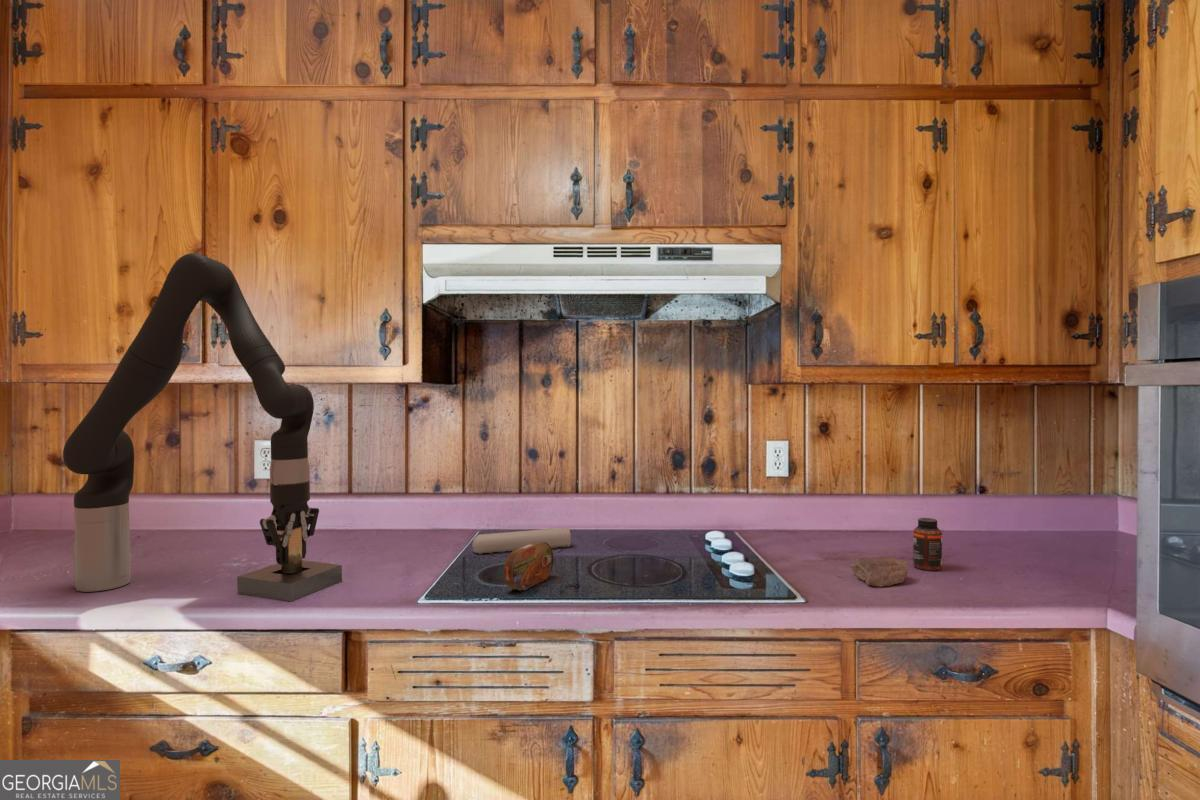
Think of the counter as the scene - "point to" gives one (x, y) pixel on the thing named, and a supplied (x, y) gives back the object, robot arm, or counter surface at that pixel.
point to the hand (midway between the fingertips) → (291, 560)
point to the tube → (520, 540)
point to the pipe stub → (294, 552)
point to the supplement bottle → (927, 545)
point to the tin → (528, 565)
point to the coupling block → (289, 581)
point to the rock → (880, 570)
